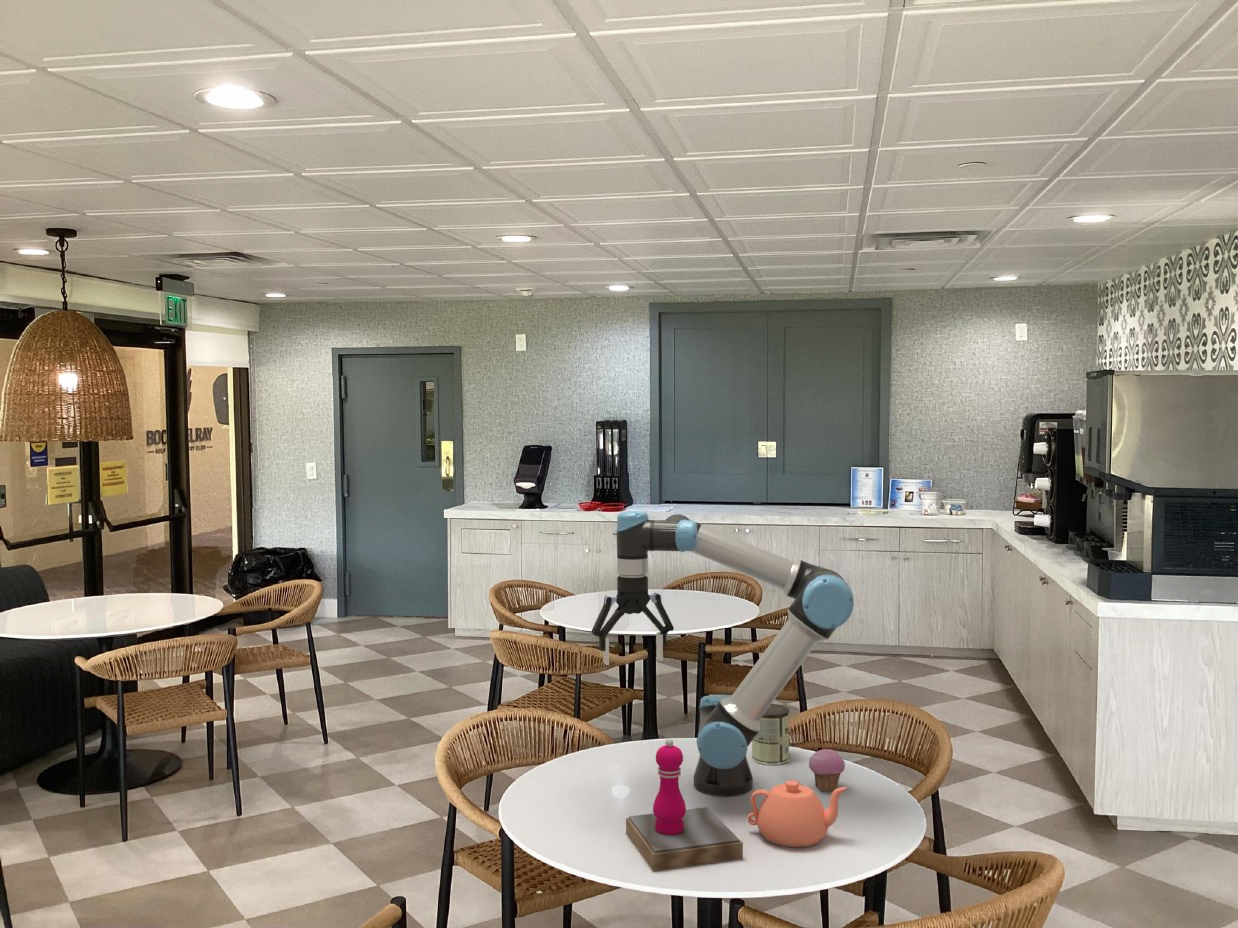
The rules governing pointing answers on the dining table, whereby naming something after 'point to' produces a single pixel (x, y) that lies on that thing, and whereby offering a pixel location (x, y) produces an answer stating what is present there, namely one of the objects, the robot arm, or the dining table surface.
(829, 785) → the cupcake
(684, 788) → the dining table surface
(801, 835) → the teapot
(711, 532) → the robot arm
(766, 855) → the dining table surface
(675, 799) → the pepper mill
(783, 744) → the coffee can
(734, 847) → the walnut stand
